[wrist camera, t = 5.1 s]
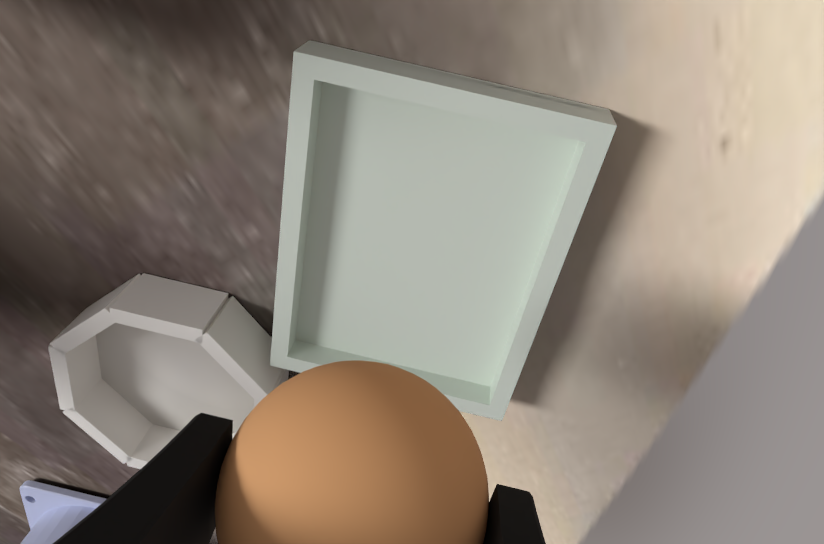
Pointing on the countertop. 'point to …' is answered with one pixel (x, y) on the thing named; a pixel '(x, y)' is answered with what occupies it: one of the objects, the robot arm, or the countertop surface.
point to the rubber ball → (353, 464)
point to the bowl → (160, 364)
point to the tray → (425, 219)
